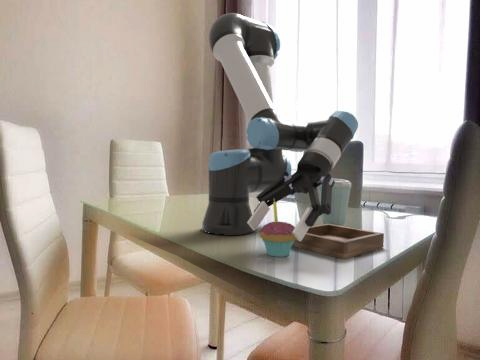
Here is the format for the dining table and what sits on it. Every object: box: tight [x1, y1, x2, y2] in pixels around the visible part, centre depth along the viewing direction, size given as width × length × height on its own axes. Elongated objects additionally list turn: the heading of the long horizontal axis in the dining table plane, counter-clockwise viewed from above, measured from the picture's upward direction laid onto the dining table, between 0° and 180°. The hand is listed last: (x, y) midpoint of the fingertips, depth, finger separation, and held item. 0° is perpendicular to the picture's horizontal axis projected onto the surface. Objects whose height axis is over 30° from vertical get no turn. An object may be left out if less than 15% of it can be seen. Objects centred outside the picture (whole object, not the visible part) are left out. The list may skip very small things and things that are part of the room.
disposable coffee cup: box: [317, 177, 352, 226], centre depth 113 cm, size 11×11×15 cm
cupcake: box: [259, 199, 297, 258], centre depth 77 cm, size 9×8×12 cm
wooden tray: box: [292, 224, 385, 260], centre depth 85 cm, size 16×16×4 cm
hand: (272, 231), depth 76 cm, fingers open, 13 cm apart
